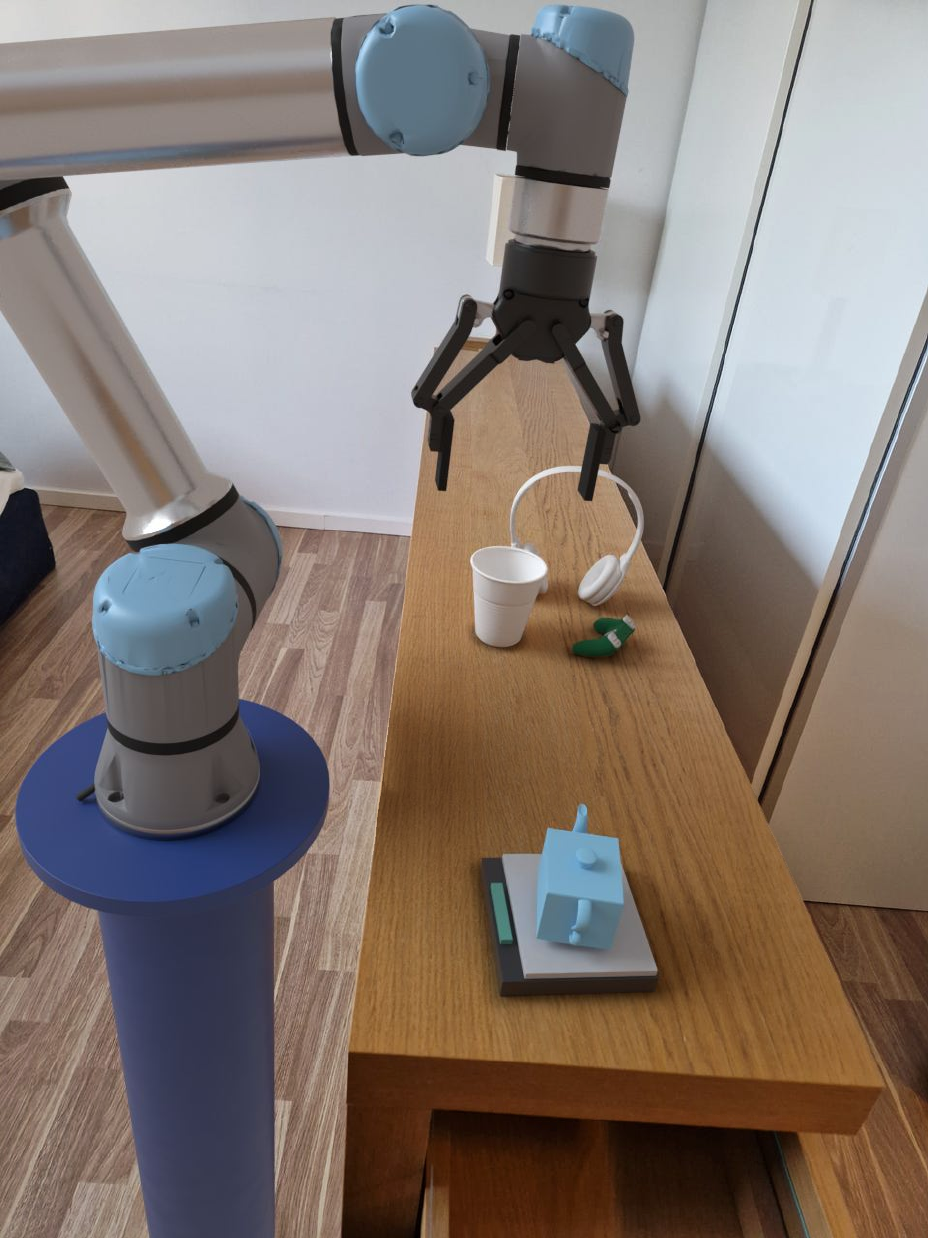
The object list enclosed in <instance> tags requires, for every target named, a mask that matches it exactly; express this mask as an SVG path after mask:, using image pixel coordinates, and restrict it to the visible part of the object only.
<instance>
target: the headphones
mask: <svg viewBox="0 0 928 1238" xmlns="http://www.w3.org/2000/svg"><path fill="white" fill-rule="evenodd" d="M581 469H582V465H563V466H556V467H551V468H548V469H545V470H543V471H540V472H538V473H536V474H535V475H533V476H532V477H530V478H529V479H528V480H527V481H526V482H525V483H523V485H521V487H520V489H519V490H518V491H517V493H516V495H515V497H514V499H513V502H512V505H511V509H510V516H509V530H510V539H511V543H510V547H515V548H520V549H523V550H526V551H529V552H531V553H533V554H535V555H537V556H539V557H540V558H541V559H542V556H541V554H540V553H539V551H538V549H537V547H536V546H535V545H534V544H533V543H532V542H529V541H528V542H525V543H524V544H523V545H521V541H520V538H519V536H518V535H517V530H516V527H517V526H516V517H517V512H518V509H519V505H520V503H521V500H523V498H524V496H525V495H526V494H527V493H528V491H530V489H532V488H533V487H534V486H535V485H537V484H538V483H539V482H540V479H542V478H545V477H548V476H551V475H555V474H559V473H560V474H562V473H581ZM597 476H598V477H602V478H605V479H608V480H610V481H612V482H614V483H617V484H618V485H620V486H621V487H622V488H624V489H625V490H626V491H627V495H628V498H630V500H631V502H632V504H633V505H634V508H635V510H636V514H637V515H636V516H637V527H636V531H635V535H634V538H633V540H632V542H631V544H630V546H629V548H628V550H627V552H624V553H623V554H622V555H621V556H620V558H619V560H618V559H617V557H616V556H615V555H613V554H607V555H604V556H603V557H601V558H599V559H598V560H597V561H596V562H595V563H594V564H593V565H592V566H591V567H590V568H589V569H588V570H587V572H586V573H585V575H584V576H583V578H582V579H581V582H580V584H579V586H578V591H577V594H578V597H579V599H581V600H583V601H585V602H586V603H588V604H589V605H591V606H592V607H597V606H601V605H602V604H604V603H605V602H607V601H609V600H610V599H611V598H612V597H613V596H614V595H615V593H617V591H618V590H619V588H620V587H621V585H622V584H623V582H624V580H625V577H626V575H627V573H628V571H629V568H630V566H631V561H632V559H633V557H634V555H635V554H636V552H637V550H638V548H639V546H640V544H641V541H642V537H643V534H644V527H645V519H644V517H645V516H644V511H643V507H642V504H641V502H640V501H641V500H640V499H639V497H638V495H637V494H636V492H635V491H634V490H633V489H632V488H631V487H630V485H629V484H627V483H626V482H625V481H624V480H622V479H621V478H619V477H618V476H616V475H614V474H612V473H610V472H608V471H605V470H601V469H599V470H598V475H597ZM548 589H549V581H548V574H547V575H546V576H545V577H544V578H543V581H542V584H541V586H540V589H539V592H538V594H537V595H540V594H545V593H547V591H548Z"/></svg>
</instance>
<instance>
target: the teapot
mask: <svg viewBox="0 0 928 1238" xmlns="http://www.w3.org/2000/svg"><path fill="white" fill-rule="evenodd" d="M588 813H589V812H588V808H587V806H586V805H585V803H580V804H579V805H578V806H577V813H576V814H577V815H576V819H575V822H574V825H573V829H572V831H571V830H564V829H557V828H551V827H547V829H546V835H545V839H544V843H543V848H542V852H541V854H542V856H541V861H540V865H539V870H538V888H537V934H536V939H540V940H547V941H554V942H560V943H567V944H572V945H574V946H579V945H580V946H587V947H594V948H600V949H607V950H611V947H612V943H613V940H614V937H615V933H616V930H617V927H618V924H619V920H620V917H621V914H622V910H623V907H624V897H623V886H622V873H621V864H622V861H621V852H620V840H619V838H618V837H611V836H607V835H606V836H604V835H599V834H592V833H588V815H589V814H588ZM620 861H621V862H620Z"/></svg>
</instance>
